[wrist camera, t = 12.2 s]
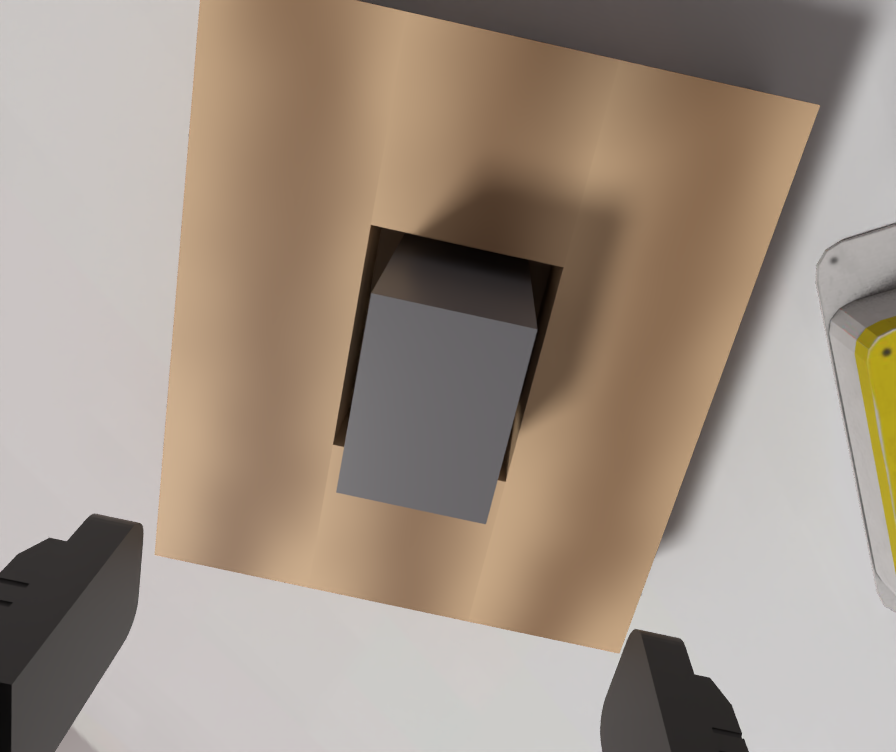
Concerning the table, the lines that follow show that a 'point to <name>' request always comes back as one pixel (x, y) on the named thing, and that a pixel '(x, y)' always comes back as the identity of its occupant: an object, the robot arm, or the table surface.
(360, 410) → the plug
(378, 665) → the table surface
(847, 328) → the emergency button
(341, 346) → the socket block
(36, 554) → the robot arm
